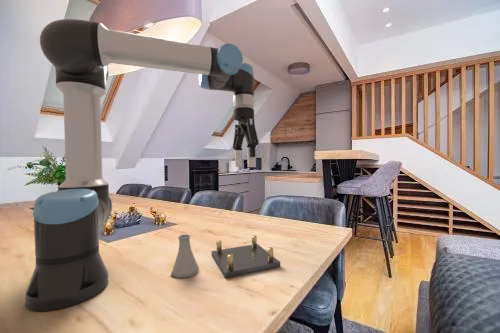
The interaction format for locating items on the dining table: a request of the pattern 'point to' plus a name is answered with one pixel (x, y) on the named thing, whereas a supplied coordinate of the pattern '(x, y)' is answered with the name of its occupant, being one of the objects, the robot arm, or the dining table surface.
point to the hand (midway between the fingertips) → (244, 167)
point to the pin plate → (244, 259)
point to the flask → (184, 259)
